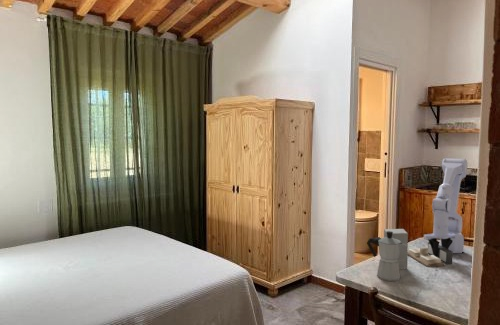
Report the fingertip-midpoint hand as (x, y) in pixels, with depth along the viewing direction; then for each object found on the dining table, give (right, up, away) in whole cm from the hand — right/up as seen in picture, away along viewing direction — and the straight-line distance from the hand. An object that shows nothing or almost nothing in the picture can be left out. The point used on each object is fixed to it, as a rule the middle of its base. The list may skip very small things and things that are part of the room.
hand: (439, 254), depth 166 cm
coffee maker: (-31, -4, -20) cm, 37 cm away
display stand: (-7, -2, -1) cm, 8 cm away
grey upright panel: (0, -2, 0) cm, 2 cm away
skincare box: (-24, -3, -10) cm, 26 cm away
